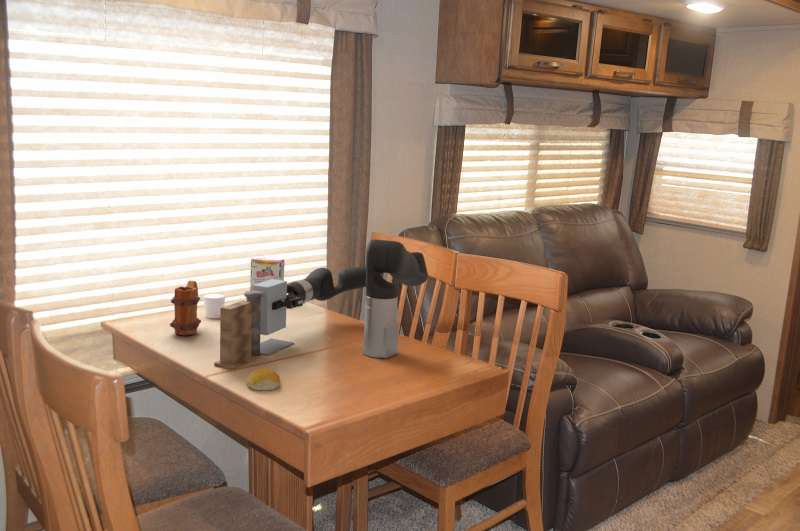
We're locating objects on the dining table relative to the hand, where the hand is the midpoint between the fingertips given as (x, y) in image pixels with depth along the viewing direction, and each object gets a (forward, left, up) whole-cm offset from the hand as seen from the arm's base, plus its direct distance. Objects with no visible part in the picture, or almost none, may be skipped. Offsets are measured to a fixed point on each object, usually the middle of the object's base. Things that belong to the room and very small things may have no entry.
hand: (264, 305), depth 214 cm
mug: (+29, +3, -13) cm, 32 cm away
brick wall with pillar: (-2, +11, -13) cm, 17 cm away
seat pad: (0, -2, -13) cm, 13 cm away
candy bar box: (+37, -40, -13) cm, 56 cm away
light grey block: (0, -3, -8) cm, 8 cm away
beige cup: (+37, -15, -13) cm, 42 cm away
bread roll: (-21, +22, -13) cm, 33 cm away
